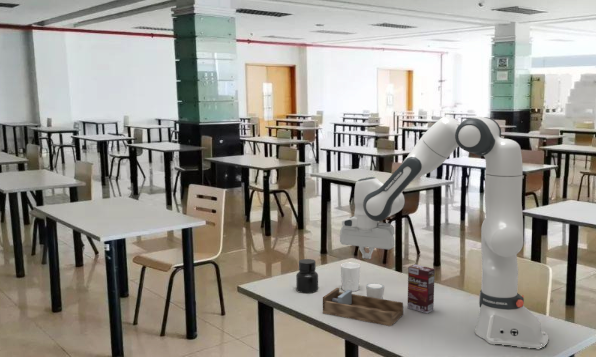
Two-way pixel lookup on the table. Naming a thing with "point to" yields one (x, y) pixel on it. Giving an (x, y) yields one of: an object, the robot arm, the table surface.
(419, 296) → the supplement box
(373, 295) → the white short cylinder
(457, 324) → the table surface
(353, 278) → the white cup
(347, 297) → the pusher
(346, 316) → the wooden tray
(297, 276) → the ink bottle
